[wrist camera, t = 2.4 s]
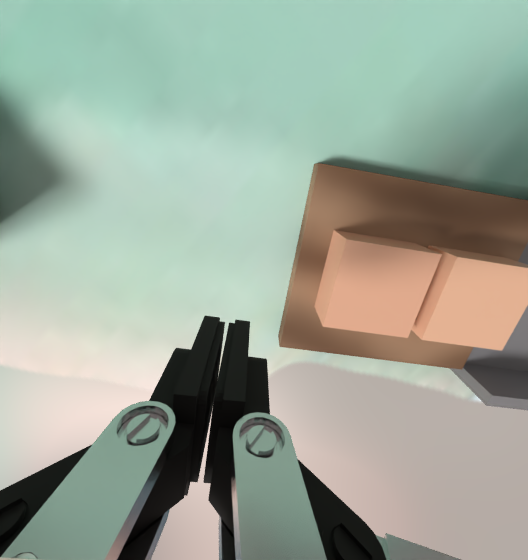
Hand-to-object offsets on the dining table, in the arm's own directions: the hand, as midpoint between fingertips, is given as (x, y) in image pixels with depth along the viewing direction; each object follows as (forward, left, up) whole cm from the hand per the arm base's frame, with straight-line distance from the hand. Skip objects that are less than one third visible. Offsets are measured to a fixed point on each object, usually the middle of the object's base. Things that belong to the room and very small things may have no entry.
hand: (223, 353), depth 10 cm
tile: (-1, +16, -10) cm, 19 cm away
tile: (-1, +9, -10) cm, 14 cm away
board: (-1, +12, -12) cm, 17 cm away
